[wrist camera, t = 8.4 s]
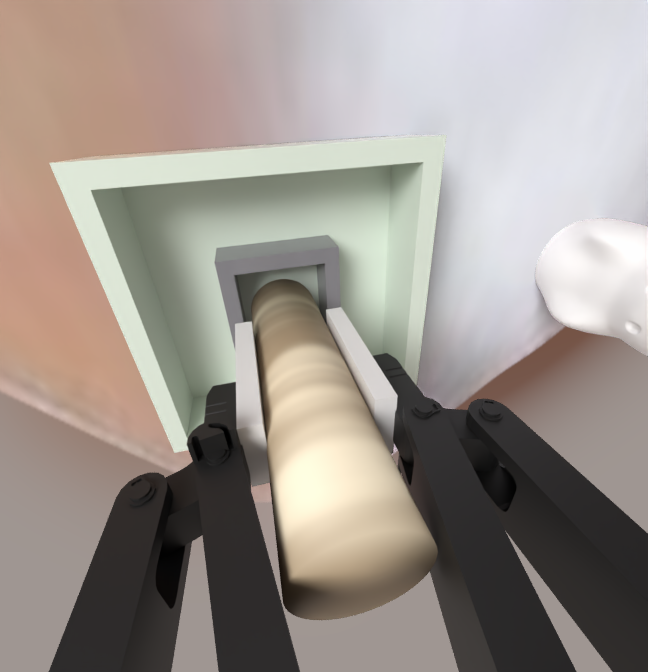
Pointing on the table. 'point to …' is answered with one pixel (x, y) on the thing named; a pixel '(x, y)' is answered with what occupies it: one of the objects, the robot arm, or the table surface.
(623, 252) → the figurine
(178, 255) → the green square socket tray
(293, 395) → the beige wooden dowel
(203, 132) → the table surface
